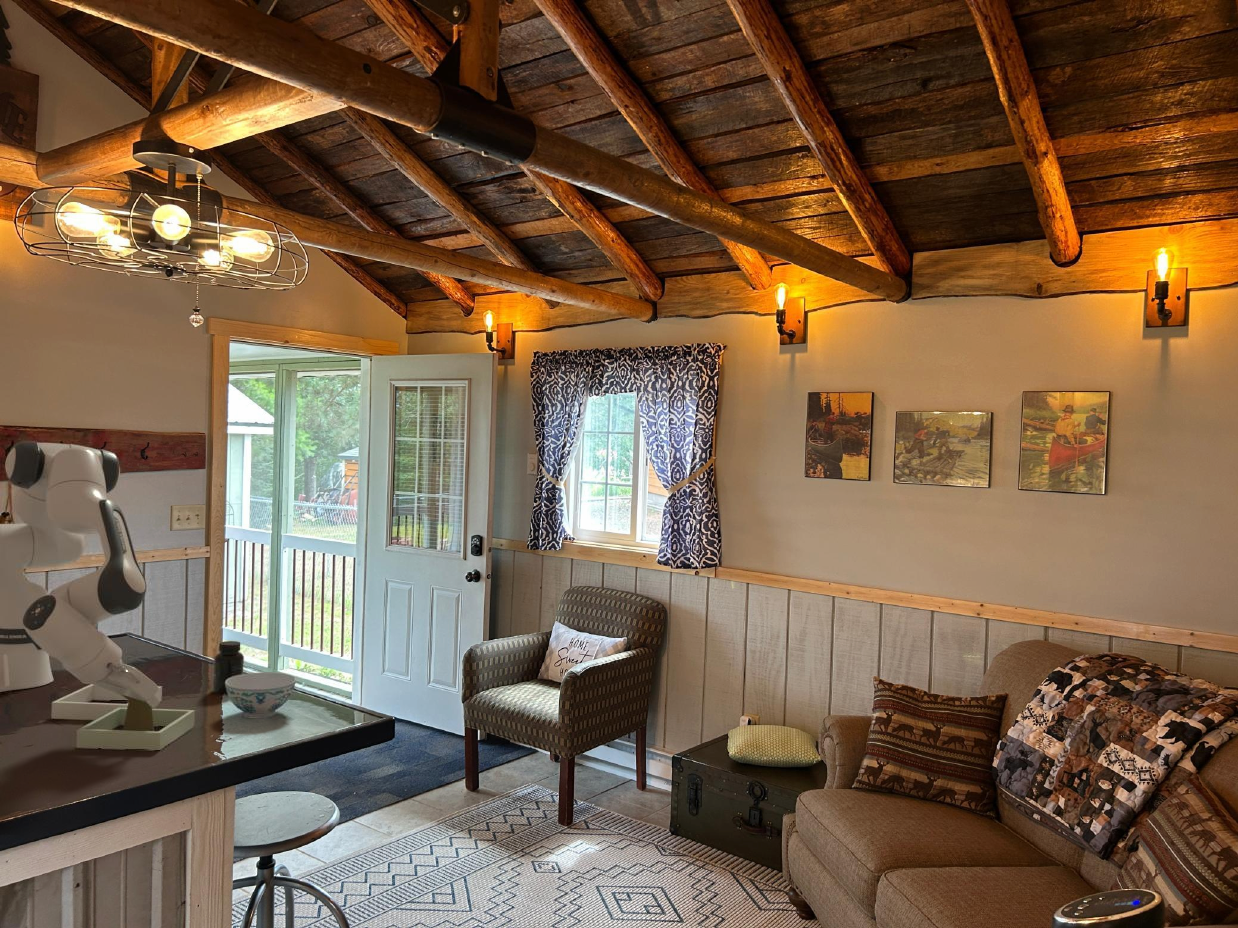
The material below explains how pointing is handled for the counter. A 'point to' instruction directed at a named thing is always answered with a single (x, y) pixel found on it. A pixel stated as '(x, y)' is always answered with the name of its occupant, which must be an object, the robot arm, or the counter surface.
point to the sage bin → (106, 738)
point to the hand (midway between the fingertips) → (142, 700)
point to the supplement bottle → (227, 665)
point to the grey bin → (82, 710)
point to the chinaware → (260, 692)
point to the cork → (138, 716)
